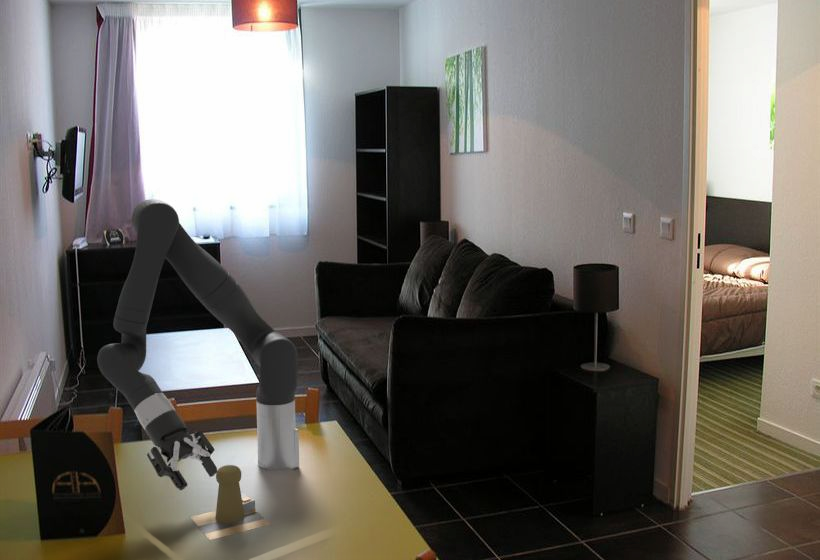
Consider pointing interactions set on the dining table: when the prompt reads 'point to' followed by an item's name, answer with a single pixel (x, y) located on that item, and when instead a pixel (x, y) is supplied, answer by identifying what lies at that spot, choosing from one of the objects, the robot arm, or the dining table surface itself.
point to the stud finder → (247, 503)
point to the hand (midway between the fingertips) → (199, 481)
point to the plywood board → (218, 529)
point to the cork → (229, 495)
